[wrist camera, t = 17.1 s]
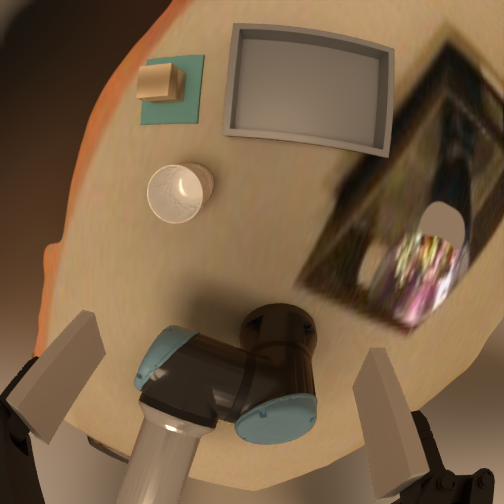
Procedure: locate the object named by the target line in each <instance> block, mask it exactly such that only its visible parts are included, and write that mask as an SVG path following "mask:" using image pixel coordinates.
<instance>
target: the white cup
mask: <svg viewBox="0 0 504 504" xmlns="http://www.w3.org/2000/svg"><path fill="white" fill-rule="evenodd" d="M213 188H214V180H213V175H212V174H211V173H210V171H209V170H208V168H206V167H204V166H202V165H200V164H192V163H183V164H174V165H167V166H164V167H162V168H160V169H159V170H157V171H156V172H155V173H154V174H153V176H152V177H151V179H150V181H149V184H148V187H147V199H148V203H149V205H150V208H151V209H152V211H153V212H154V214H155V215H156V216H157V217H159V218H160V219H162V220H163V221H165V222H168V223H173V224H179V223H184V222H186V221H188V220H190V219H192V218H193V217H194V216H195V215H196V214H197V213H198V211H199V210H200V209H201V208H202V207H203V206H204V204H205V203H206V202H207V200H208V199H209V197H210V196H211V194H212V192H213Z"/></svg>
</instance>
